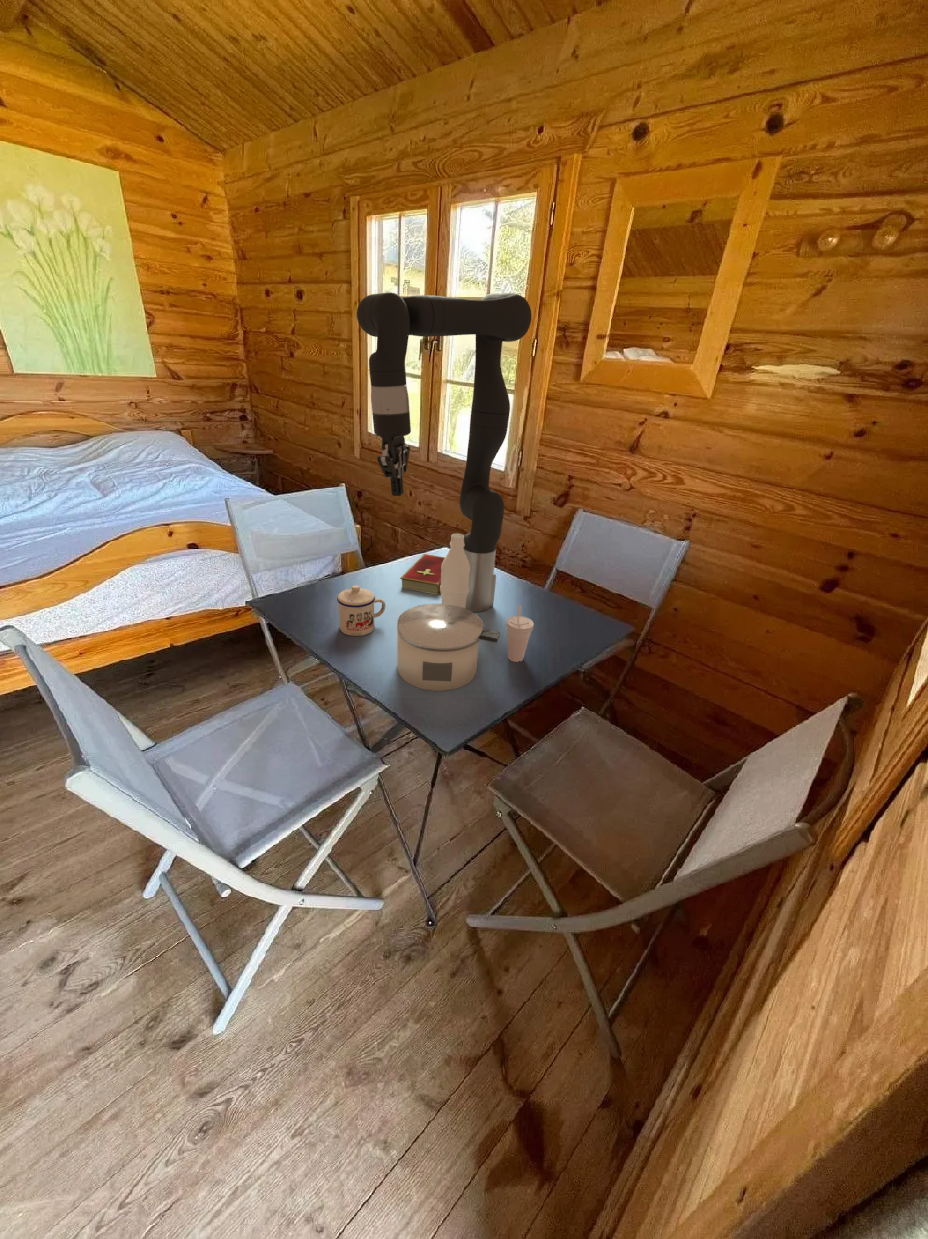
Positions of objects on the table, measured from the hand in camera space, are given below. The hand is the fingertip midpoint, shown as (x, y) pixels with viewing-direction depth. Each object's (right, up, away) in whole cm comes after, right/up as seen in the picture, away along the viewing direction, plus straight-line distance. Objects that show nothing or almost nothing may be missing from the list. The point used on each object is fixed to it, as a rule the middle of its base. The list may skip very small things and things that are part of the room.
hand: (397, 494), depth 112 cm
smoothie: (+27, -36, +11) cm, 47 cm away
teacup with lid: (-11, -29, +19) cm, 37 cm away
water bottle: (+11, -29, +22) cm, 38 cm away
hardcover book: (+4, -15, +48) cm, 51 cm away
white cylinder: (+8, -38, +5) cm, 39 cm away
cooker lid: (+11, -30, 0) cm, 32 cm away
